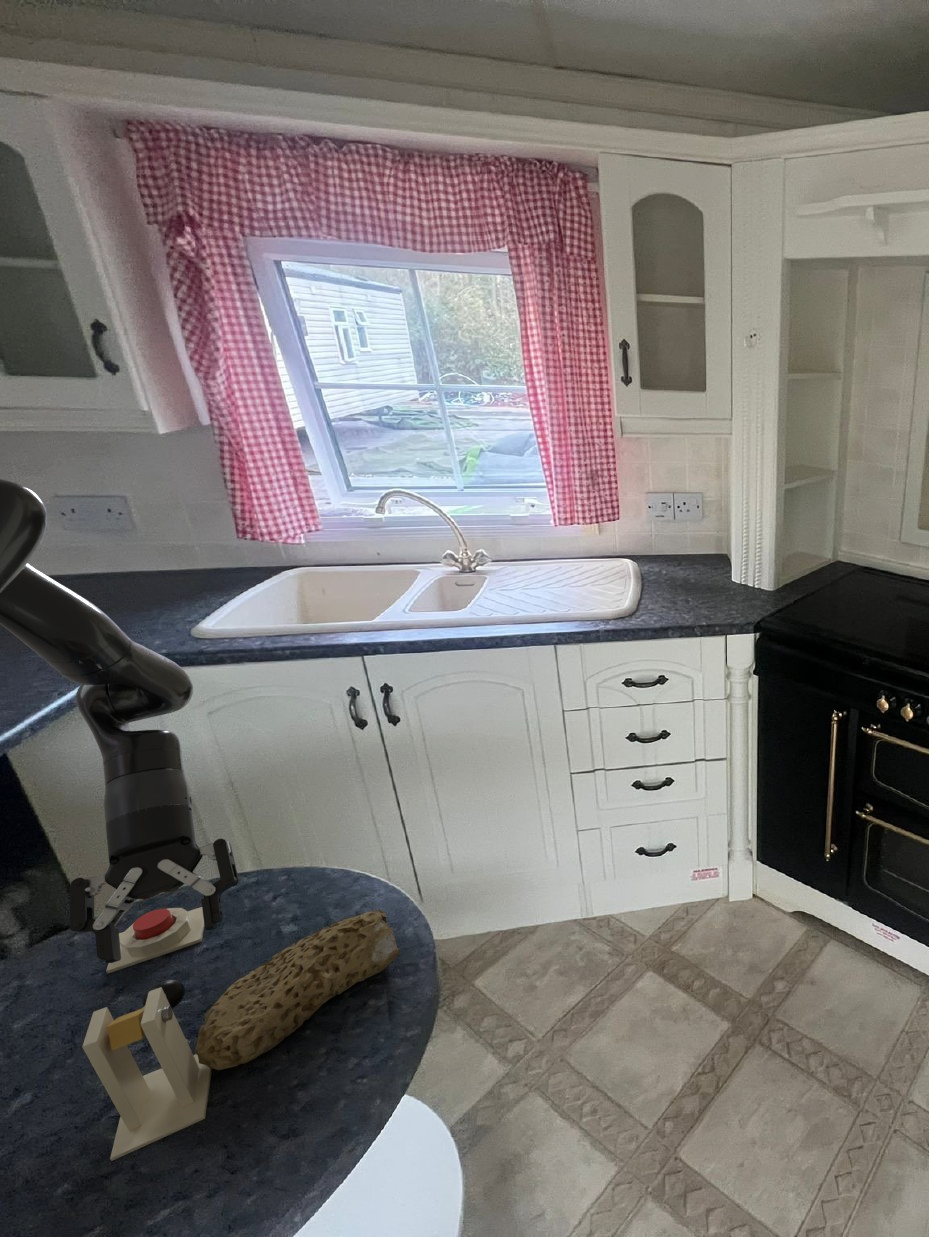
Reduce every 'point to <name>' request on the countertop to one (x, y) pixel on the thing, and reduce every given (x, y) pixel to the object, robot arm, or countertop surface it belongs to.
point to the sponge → (293, 989)
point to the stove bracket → (149, 1077)
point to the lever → (130, 1024)
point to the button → (153, 924)
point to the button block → (160, 939)
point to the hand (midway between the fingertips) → (164, 944)
